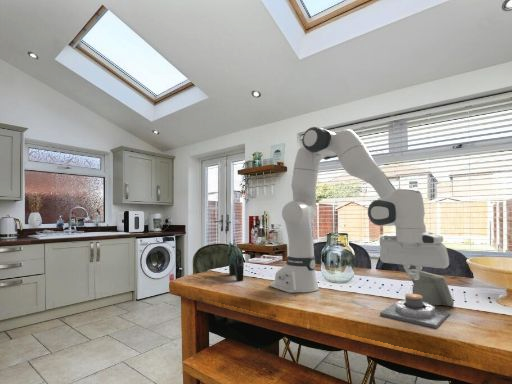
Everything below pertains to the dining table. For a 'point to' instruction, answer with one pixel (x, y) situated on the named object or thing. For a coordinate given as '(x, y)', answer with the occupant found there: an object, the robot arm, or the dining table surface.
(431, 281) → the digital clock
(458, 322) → the dining table surface
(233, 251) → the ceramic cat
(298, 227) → the robot arm
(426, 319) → the flat square base plate
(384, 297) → the dining table surface
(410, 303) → the dark grey cylinder
